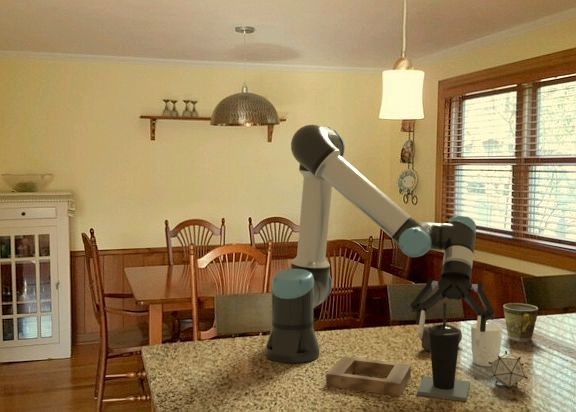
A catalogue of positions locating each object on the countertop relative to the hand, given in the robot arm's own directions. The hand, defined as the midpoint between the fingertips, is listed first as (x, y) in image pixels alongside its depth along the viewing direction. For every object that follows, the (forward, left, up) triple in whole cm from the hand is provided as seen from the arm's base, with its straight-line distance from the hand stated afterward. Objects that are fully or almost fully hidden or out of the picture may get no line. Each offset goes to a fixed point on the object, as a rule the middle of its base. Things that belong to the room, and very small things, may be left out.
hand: (448, 339), depth 146 cm
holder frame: (-18, -4, -11) cm, 22 cm away
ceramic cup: (+17, +47, -12) cm, 51 cm away
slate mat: (0, -3, -11) cm, 12 cm away
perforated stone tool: (-5, +29, -12) cm, 32 cm away
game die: (+14, +5, -12) cm, 19 cm away
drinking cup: (0, -3, -11) cm, 11 cm away
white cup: (+8, +21, -12) cm, 25 cm away
